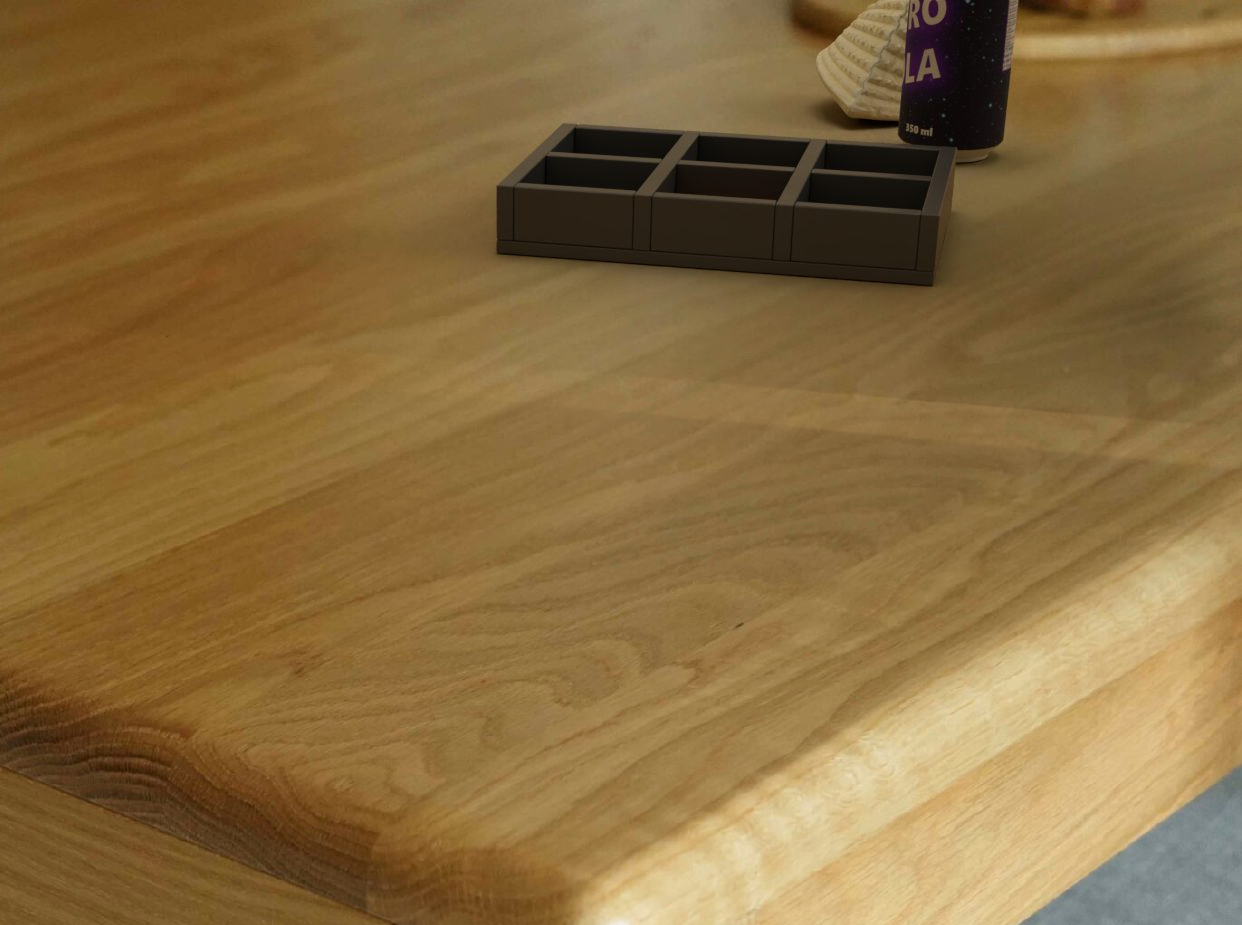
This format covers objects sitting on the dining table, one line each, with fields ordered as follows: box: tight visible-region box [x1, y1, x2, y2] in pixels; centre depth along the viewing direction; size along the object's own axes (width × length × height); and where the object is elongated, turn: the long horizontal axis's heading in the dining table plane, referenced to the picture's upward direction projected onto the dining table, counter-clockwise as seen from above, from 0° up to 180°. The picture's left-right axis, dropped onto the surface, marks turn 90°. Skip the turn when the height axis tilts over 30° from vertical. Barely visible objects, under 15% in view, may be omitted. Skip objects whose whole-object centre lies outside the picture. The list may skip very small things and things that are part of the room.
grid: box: [495, 122, 957, 286], centre depth 97 cm, size 20×13×3 cm
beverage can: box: [897, 0, 1019, 163], centre depth 110 cm, size 6×6×12 cm
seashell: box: [815, 0, 909, 122], centre depth 121 cm, size 8×8×8 cm
